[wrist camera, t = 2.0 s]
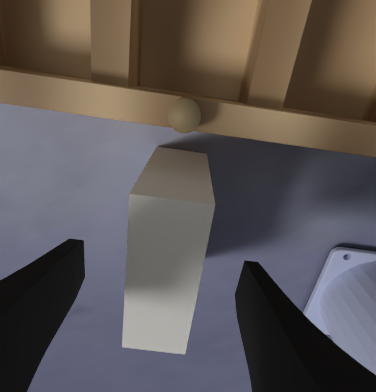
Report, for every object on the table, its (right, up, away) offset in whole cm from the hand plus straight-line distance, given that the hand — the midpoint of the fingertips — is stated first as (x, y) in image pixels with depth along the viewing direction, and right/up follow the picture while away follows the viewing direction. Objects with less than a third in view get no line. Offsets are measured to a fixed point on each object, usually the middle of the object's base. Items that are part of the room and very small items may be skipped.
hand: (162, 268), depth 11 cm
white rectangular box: (0, +2, +5) cm, 6 cm away
